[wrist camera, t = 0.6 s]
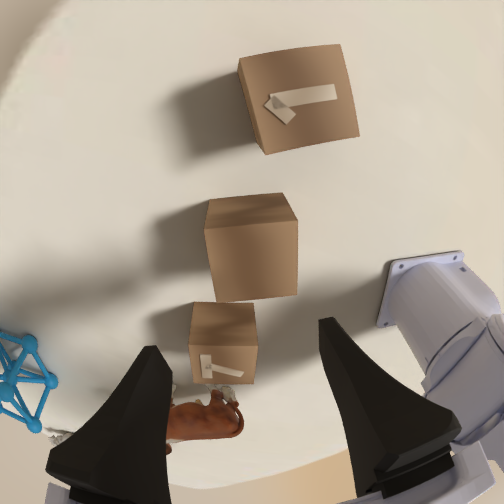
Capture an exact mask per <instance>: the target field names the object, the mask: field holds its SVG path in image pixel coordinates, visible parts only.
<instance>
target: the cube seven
mask: <svg viewBox="0 0 504 504" xmlns="http://www.w3.org/2000/svg"><path fill="white" fill-rule="evenodd" d="M188 347H189V355H190V362H191V368H192V375H193V381H194V383H202V384H254V376H255V368H256V361H257V353H258V339H257V330H256V321H255V312H254V303H217V302H194V306H193V313H192V320H191V327H190V335H189V342H188Z"/></svg>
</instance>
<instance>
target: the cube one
mask: <svg viewBox="0 0 504 504" xmlns="http://www.w3.org/2000/svg"><path fill="white" fill-rule="evenodd" d="M237 72H238V75H239V79H240V83H241V86H242V90H243V93H244V97H245V100H246V104H247V108H248V111H249V115H250V119H251V123H252V126H253V130H254V134H255V138H256V141H257V144H258V145H259V147H260V148H261V149H262V151H263V152H264V154H265V155H269V154H273V153H277V152H282V151H286V150H291V149H295V148H300V147H305V146H310V145H315V144H320V143H325V142H330V141H336V140H342V139H347V138H354V137H360V134H359V128H358V122H357V116H356V111H355V105H354V100H353V95H352V91H351V86H350V81H349V77H348V73H347V69H346V65H345V61H344V57H343V53H342V49H341V45H340V44H335V45H321V46H311V47H302V48H294V49H287V50H280V51H274V52H269V53H263V54H258V55H253V56H248V57H244V58H239V64H238V70H237Z"/></svg>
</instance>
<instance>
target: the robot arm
mask: <svg viewBox="0 0 504 504" xmlns="http://www.w3.org/2000/svg"><path fill="white" fill-rule="evenodd" d="M463 258H464V253H463V252H462V251H457V252H450V253H443V254H437V255H430V256H423V257H416V258H409V259H402V260H395V261H393V262H392V263H391V266H390V270H389V275H388V279H387V284H386V288H385V292H384V296H383V300H382V304H381V308H380V312H379V316H378V319H377V323H376V325H377V327H378V328H384V327H388V326H393V325H397V327H398V328H399V330H400V332H401V333H402V335H403V337H404V338H405V340H406V342H407V344H408V345H409V347H410V349H411V351H412V352H413V354H414V356H415V358H416V359H417V361H418V363H419V365H420V367H421V368H422V370H423V372H424V374H425V376H426V377H425V378H424V380H423V381H422V382H421V385H422V387H423V389H424V391H425V393H424V394H423V396H420V395H419V394H417V393H416V392H414V391H412V390H411V389H409V388H407V387H406V386H404V385H403V384H401V383H400V382H399V381H397V380H396V379H394V378H393V377H392V376H391V375H389V374H388V373H387V372H385V371H384V370H383V369H382V368H381V367H380V366H378V365H377V364H376V363H375V362H374V361H373V360H372V359H371V358H370V357H369V356H368V355H367V354H366V353H364V351H363V350H362V349H361V348H360V347H359V346H358V345H357V344H356V343H355V342H354V341H353V340H352V339H351V338H350V336H349V335H348V334H347V333H346V332H345V331H344V329H343V328H342V327H341V326H340V324H339V323H338V322H337V321H336V319H335V318H334V317H329V318H324V319H320V320H319V351H320V355H321V359H322V363H323V367H324V371H325V373H326V376H327V379H328V382H329V384H330V387H331V390H332V392H333V395H334V398H335V400H336V403H337V406H338V408H339V411H340V415H341V418H342V422H343V426H344V430H345V434H346V439H347V444H348V448H349V453H350V459H351V464H352V469H353V475H354V482H355V489H356V495H357V498H356V499H353V500H349V501H345V502H342V503H338V504H468V503H470V502H471V501H473V500H474V499H476V498H477V497H479V496H480V495H481V494H483V493H484V492H486V491H487V490H488V489H490V488H491V487H492V486H494V485H495V484H496V481H495V478H494V475H493V473H492V470H491V468H490V465H489V463H488V460H495V461H496V463H497V464H498V465H499V467H500V468H501V470H502V471H503V472H504V314H501V308H500V304H499V301H498V299H497V297H496V295H495V293H494V292H493V291H492V290H491V289H490V288H489V287H488V286H487V285H486V284H485V283H484V282H483V281H482V280H481V279H480V278H479V277H478V276H477V275H476V274H475V273H474V272H473V271H472V270H471V269H470V268H469V267H468V266H467V265H466V264H465V263H464V262H463ZM400 265H401V266H400ZM171 397H172V370H171V369H170V367H169V366H168V364H167V362H166V361H165V359H164V358H163V356H162V354H161V353H160V351H159V349H158V348H157V346H156V345H153V346H144V348H143V349H142V350H141V352H140V353H139V355H138V356H137V358H136V359H135V361H134V363H133V364H132V366H131V367H130V369H129V370H128V372H127V373H126V375H125V376H124V378H123V379H122V380H121V382H120V383H119V385H118V386H117V387H116V389H115V390H114V391H113V393H112V394H111V396H110V397H109V398H108V399H107V401H106V402H105V403H104V404H103V406H102V407H101V408H100V409H99V410H98V411H97V412H96V413H95V414H94V416H92V417H91V418H90V419H89V420H88V421H87V422H86V423H85V424H84V425H83V426H82V427H81V428H80V429H79V430H78V431H76V432H75V433H74V434H73V435H71V436H70V437H69V438H67V439H66V440H65V441H63V442H62V443H60V444H59V445H57V446H56V447H54V448H53V449H51V450H50V454H49V458H48V461H47V465H46V469H45V470H46V472H47V473H48V474H49V475H51V476H53V477H54V478H56V479H58V480H60V481H62V482H64V483H66V484H68V485H70V486H71V488H70V490H68V489H66V488H63V487H61V486H58V485H55V484H53V483H49V484H48V489H47V494H46V499H45V504H172V503H171V499H170V492H169V486H168V476H167V463H166V433H167V425H168V418H169V411H170V404H171ZM450 451H453V452H454V453H455V455H453V456H452V457H451V455H450Z"/></svg>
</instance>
